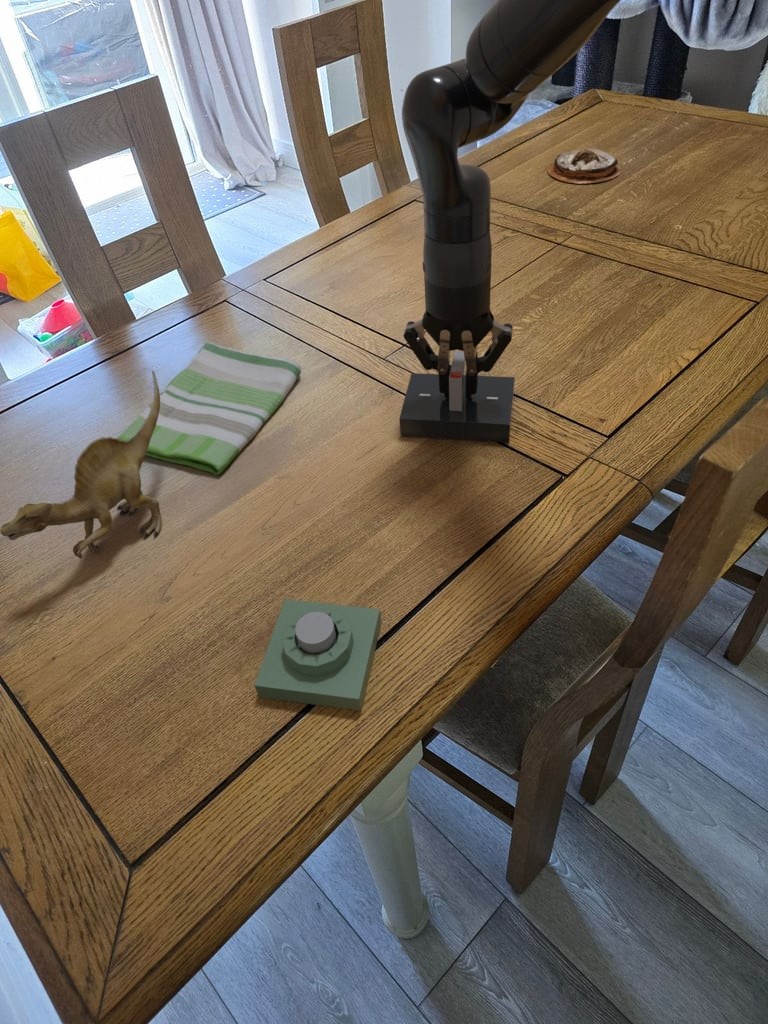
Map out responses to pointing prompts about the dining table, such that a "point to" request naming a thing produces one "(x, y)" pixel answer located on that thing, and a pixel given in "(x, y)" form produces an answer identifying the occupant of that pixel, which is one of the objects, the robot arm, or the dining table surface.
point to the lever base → (475, 422)
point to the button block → (321, 658)
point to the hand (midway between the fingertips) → (458, 393)
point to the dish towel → (216, 406)
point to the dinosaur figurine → (98, 489)
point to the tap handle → (457, 382)
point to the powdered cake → (584, 166)
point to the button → (315, 632)
